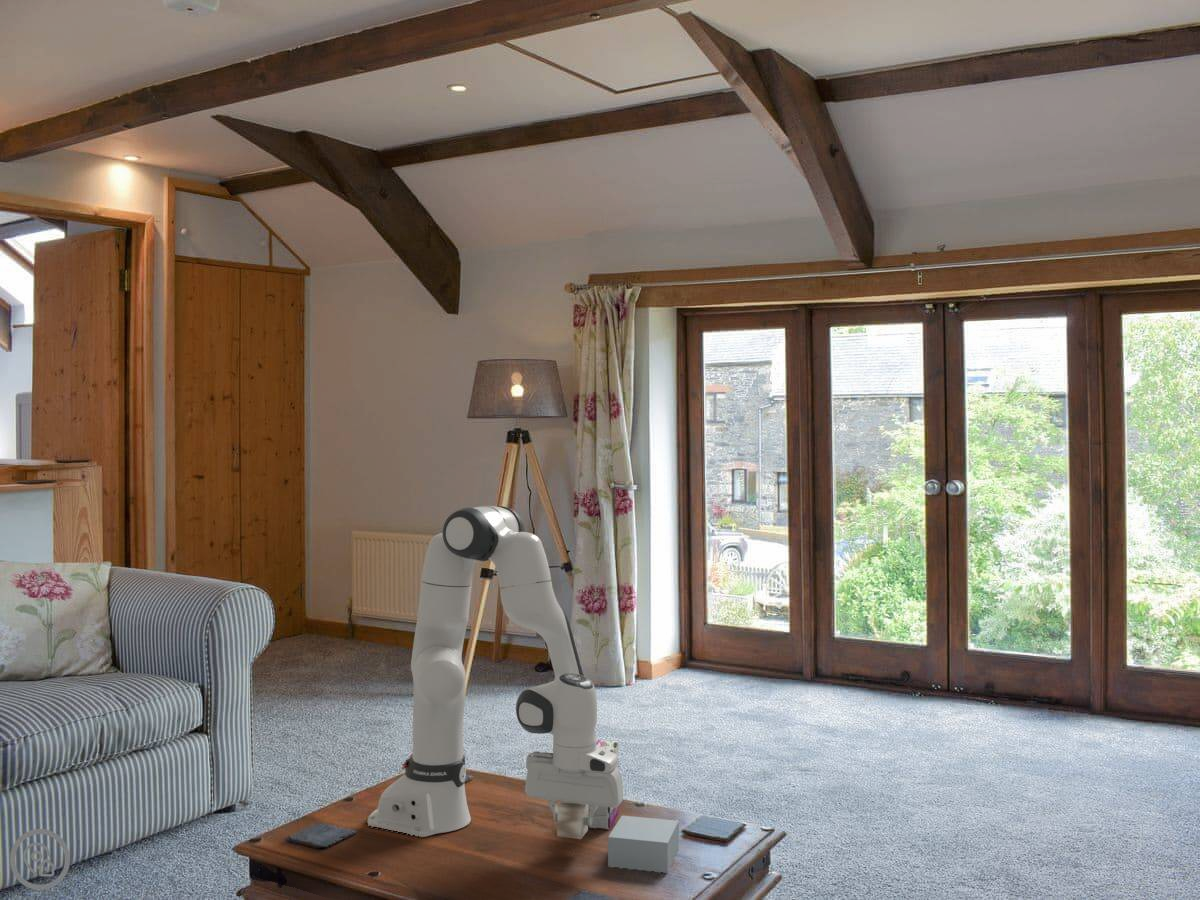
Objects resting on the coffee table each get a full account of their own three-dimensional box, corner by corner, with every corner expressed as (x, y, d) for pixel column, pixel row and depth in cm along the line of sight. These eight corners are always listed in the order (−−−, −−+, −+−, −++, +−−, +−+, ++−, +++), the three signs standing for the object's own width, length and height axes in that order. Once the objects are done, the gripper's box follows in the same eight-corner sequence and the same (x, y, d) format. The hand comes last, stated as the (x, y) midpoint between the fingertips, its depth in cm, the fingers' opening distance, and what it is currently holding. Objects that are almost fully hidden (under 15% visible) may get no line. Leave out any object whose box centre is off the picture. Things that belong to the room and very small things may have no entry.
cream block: (557, 836, 220) (557, 806, 220) (564, 827, 225) (565, 798, 225) (580, 839, 219) (581, 809, 219) (587, 830, 224) (588, 801, 224)
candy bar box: (597, 810, 246) (597, 738, 246) (619, 812, 245) (619, 740, 245) (587, 828, 235) (587, 753, 235) (609, 830, 234) (610, 755, 234)
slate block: (608, 866, 215) (608, 836, 215) (621, 843, 227) (622, 815, 227) (667, 873, 212) (667, 842, 212) (678, 849, 224) (678, 820, 224)
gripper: (521, 754, 222) (519, 821, 222) (617, 765, 216) (616, 834, 216) (531, 745, 228) (530, 811, 228) (626, 756, 222) (624, 823, 222)
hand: (572, 822), depth 222 cm, fingers closed on cream block, 5 cm apart
